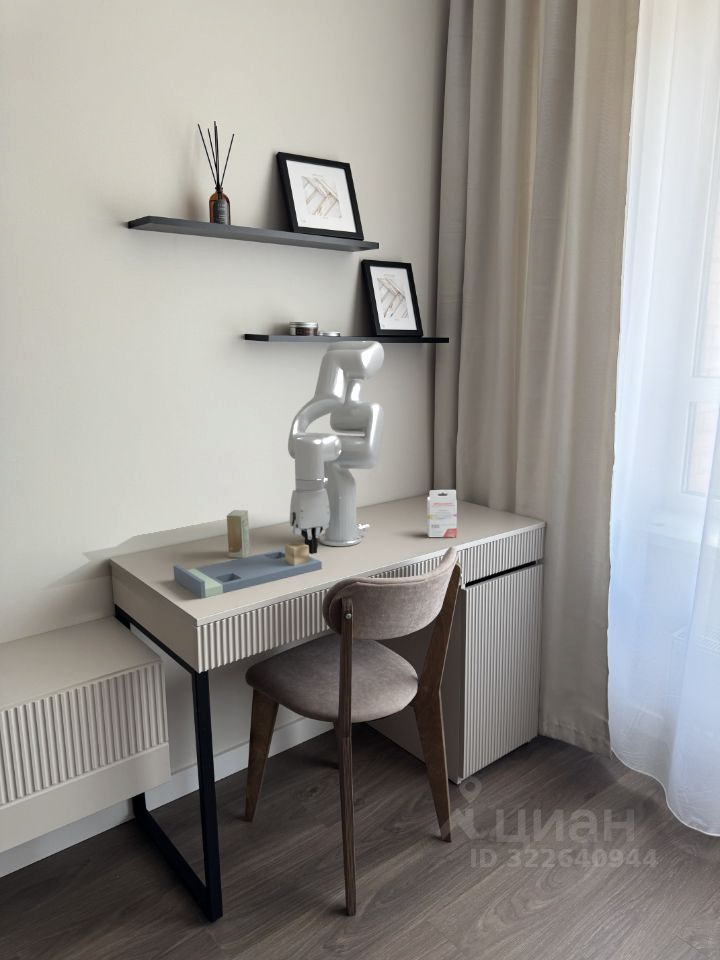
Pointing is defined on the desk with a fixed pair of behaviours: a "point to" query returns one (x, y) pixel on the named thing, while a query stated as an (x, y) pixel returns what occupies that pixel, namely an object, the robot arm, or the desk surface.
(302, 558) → the block
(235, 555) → the skincare box
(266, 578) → the board
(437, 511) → the ink cartridge box
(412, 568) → the desk surface
